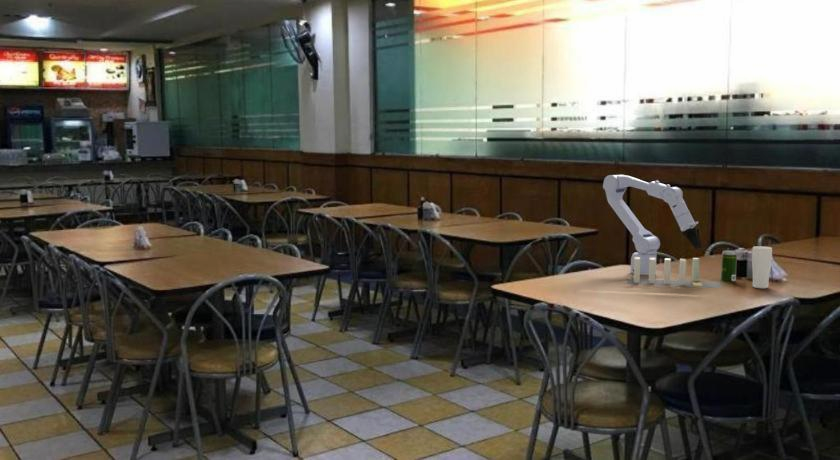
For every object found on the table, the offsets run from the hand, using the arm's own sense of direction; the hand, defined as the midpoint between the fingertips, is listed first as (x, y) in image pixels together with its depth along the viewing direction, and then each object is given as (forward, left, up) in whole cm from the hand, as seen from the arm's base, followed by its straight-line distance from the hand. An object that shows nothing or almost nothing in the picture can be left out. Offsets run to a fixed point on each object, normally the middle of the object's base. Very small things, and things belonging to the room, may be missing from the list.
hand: (698, 247), depth 312 cm
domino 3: (-6, -13, -13) cm, 19 cm away
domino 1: (-15, -19, -13) cm, 27 cm away
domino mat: (-4, -12, -13) cm, 19 cm away
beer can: (+9, +8, -14) cm, 18 cm away
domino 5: (-1, 0, -14) cm, 13 cm away
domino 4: (-1, -11, -13) cm, 17 cm away
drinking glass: (+22, +6, -14) cm, 26 cm away
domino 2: (-11, -16, -13) cm, 23 cm away
